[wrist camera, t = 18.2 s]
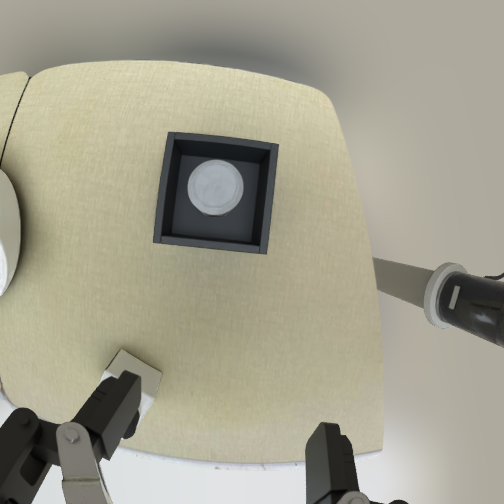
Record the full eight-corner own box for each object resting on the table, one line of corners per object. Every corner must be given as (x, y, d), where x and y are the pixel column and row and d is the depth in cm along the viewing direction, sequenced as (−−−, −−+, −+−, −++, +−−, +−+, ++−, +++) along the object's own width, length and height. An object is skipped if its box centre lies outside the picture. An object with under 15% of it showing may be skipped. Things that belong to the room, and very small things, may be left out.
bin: (265, 160, 35) (278, 144, 28) (255, 248, 36) (266, 254, 28) (177, 150, 34) (168, 131, 26) (166, 239, 35) (152, 242, 27)
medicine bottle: (121, 347, 35) (90, 390, 23) (163, 372, 36) (148, 423, 24) (104, 379, 35) (76, 424, 23) (144, 403, 36) (127, 454, 24)
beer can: (194, 216, 34) (183, 212, 22) (198, 178, 34) (189, 155, 22) (233, 219, 35) (242, 216, 23) (236, 181, 34) (247, 159, 22)
